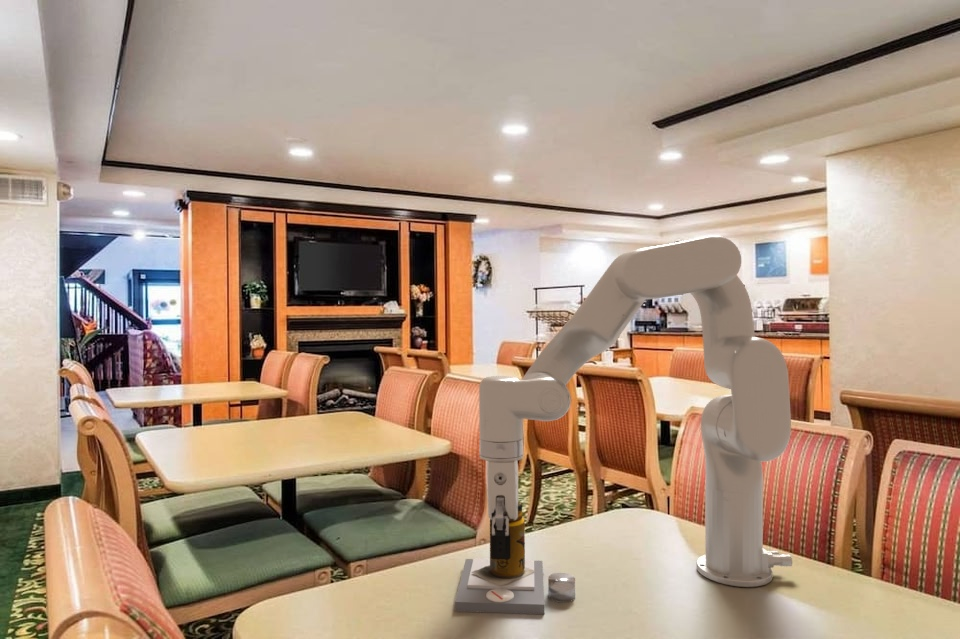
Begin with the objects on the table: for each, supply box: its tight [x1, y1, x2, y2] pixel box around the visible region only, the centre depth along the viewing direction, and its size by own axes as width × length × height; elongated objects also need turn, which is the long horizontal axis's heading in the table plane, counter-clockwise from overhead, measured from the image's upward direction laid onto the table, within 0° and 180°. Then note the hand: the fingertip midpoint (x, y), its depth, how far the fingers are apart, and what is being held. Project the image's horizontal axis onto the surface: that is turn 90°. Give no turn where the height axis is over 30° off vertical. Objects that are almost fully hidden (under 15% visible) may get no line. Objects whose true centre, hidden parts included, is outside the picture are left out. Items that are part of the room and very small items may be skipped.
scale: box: [454, 558, 545, 615], centre depth 107 cm, size 14×17×2 cm
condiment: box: [471, 499, 535, 587], centre depth 108 cm, size 7×8×12 cm
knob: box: [547, 572, 576, 603], centre depth 104 cm, size 4×4×3 cm
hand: (502, 547), depth 109 cm, fingers open, 9 cm apart
